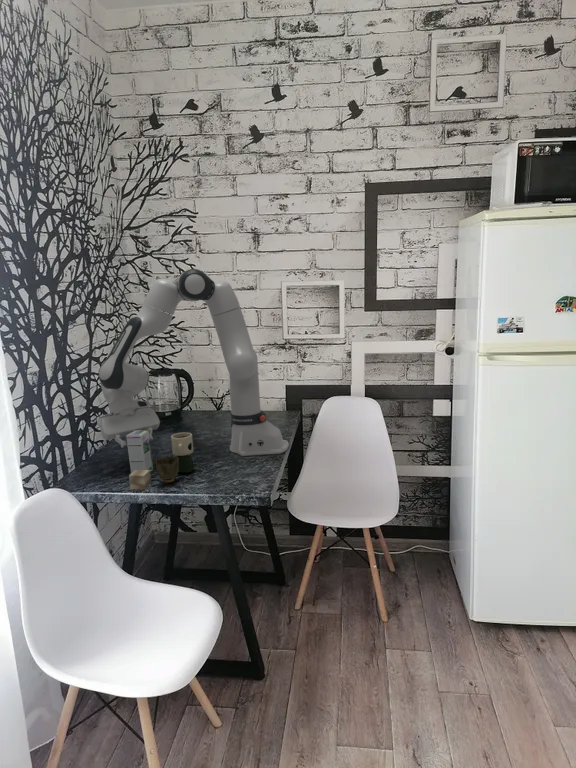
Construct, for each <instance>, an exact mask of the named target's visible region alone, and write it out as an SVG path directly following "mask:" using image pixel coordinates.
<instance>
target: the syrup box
mask: <svg viewBox="0 0 576 768" xmlns="http://www.w3.org/2000/svg"><path fill="white" fill-rule="evenodd" d="M125 437H126V444H127V446H126V447H127V453H128V459H129V466H130V474H131V473H132V472H134V471H135V470H150V473H151V472H152V471H153V470H154V463H153V456H152V448H151V441H150V438H149V431H147V430H136V431H133V432H132V433H130V434H128V435H127V436H125Z"/></svg>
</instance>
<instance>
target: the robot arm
mask: <svg viewBox="0 0 576 768" xmlns="http://www.w3.org/2000/svg"><path fill="white" fill-rule="evenodd" d="M182 301H186V302H198V301H203V302H204V303H205V304H206V306H207V308H208V310H209V313H210V316H211V319H212V322H213V325H214V328H215V329H214V330H215V332H216V334H217V338H218V340H219V344H220V348H221V352H222V356H223V358H224V363H225V365H226V368H227V371H228V376H229V399H230V410H231V411H230V417H229V420H230V425H231V426H230V428H231V440H230V446H229V451H230V452H232V453H235V454H238V455H239V456H242V457H245V456H262V455H276V454H282V453H284V452H286V451H287V450H288V449H289V445H290V444H289V442H288V440H286V439H283V434H282V431H281V430H280V429H279V427H277V426H276V425H274V424H273V423H271V422H269V421H268V420H267V412H266V411H265V412H264V411H262V410H261V397H260V382H259V380H260V379H259V366H258V365H259V364H258V362H259V361H258V355H257V352H256V350H255V349H254V347H253V344H252V341H251V337H250V334H249V331H248V330H249V329H248V327H247V324H246V320H245V318H244V314H243V312H242V311H243V310H242V308H241V306H240V302H239V300H238V297H237V295H236V292H235V291H234V289H233V287H232V285H231V284H230V283H229V282H227V281H225V280H218V281H214V280H213V279H211V277H209V276H208V275H207V274H206V273H205V272H204V271H202V270H200V269H196V268H190V269H187V270H185V271H183V272H182V273H181V274H180V275H179V276H178V278H176V279H175V280H170V279H168V278H159V279H156V280H155V281H154V282H153V283H152V285H151V287H150V289H149V291H148V292H147V294H146V296H145V298H144V301H143V303H142V306H141V308H140V309H139V311H138V312H137V314H136V315H135V316H134V317H132V318H130V319H129V320H128V321H127V323H126V324H125V326H124V327H123V329H122V331H121V332H120V334H119V336H118V338H117V339H116V341H115V343H114V345H113V347H112V349H111V351H110V353H109V354H108V356H107V357H106V359H104V361H103V362H102V364H101V365H100V367H99V369H98V372H97V373H98V380H99V381H100V387H101V392H102V394H103V397H104V399H105V401H106V402H107V403H108V409H109V411H110V413H106V414H101V415H99V416H98V417H97V418H96V424H97V425H98V427H99V429H100V430H99V431H100V433H101V437H102V439H103V440H104V441H109V440H113V439H114V440H115V442H116V443H118V444H119V445H120V447H121V448H123V449H124V448H127V447H128V446H127V440H123V439H122V437H126V436H127V435H128V434H130V433H132V432H133V431H136V430H147V431H149V438H150V442H152V441H153V440H154V437H153V435H152V434H153V431H155V430H157V429H158V428H159V426H160V423H161V420H160V418H159V416H158V414H157V413H156V412H155V410H154V409H153V408H151V406H150V405H151V404H150V402H149V401H147V400H138V399H134V397H135V396H137V395H139V394H140V393H141V392H142V391H144V390H146V388H147V387H148V384H149V379H150V378H149V372H148V370H147V369H146V368H145V367H143V366H140V365H137V364H133V363H132V364H131V363H127V362H126V361H127V360H128V357H129V355H130V353H131V352H132V350H133V348H134V346H135V345H136V343H137V342H138V341H139V340H140V339H142V338H145V337H150V336H156V335H160V334H162V333H164V332H165V331H167V329H168V328H169V326H170V324H171V323H172V319H173V317H174V315H175V312H176V309H177V306H178V305H179V303H180V302H182Z"/></svg>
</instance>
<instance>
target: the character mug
mask: <svg viewBox="0 0 576 768" xmlns="http://www.w3.org/2000/svg"><path fill="white" fill-rule="evenodd" d="M170 440H171V449H172V451H171V452H172V456H176V458H177V457H178V458H179V464H178V473H183V474H185V473H191V472H192V471H194V469H195V465H194V462H193V458H192V455H191V454H192V453H194V443H193V434H192V433H191V432H187V431H186V432H178V433H177V432H176V433H173V434H172V435H170ZM184 472H185V473H184Z"/></svg>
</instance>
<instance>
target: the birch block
mask: <svg viewBox="0 0 576 768" xmlns="http://www.w3.org/2000/svg"><path fill="white" fill-rule="evenodd" d="M151 477H152V476H151V472H150V470H135V471H134V472H132V473H131V472H130V474H129V475H128V481H129V489H146V488H147V487H148V486H149V485H150V484H151V485H152V478H151ZM151 485H150V486H151ZM150 486H149V487H150ZM149 487H148V488H149ZM148 488H147V489H148ZM147 489H146V490H147Z"/></svg>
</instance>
